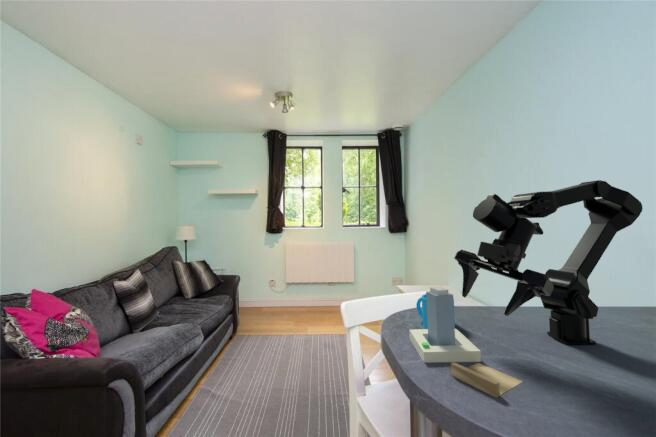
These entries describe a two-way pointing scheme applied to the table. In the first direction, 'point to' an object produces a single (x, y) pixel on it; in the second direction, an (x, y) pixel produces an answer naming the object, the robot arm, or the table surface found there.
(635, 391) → the table surface
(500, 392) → the tan base plate
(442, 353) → the block
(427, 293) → the plug
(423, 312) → the mug
